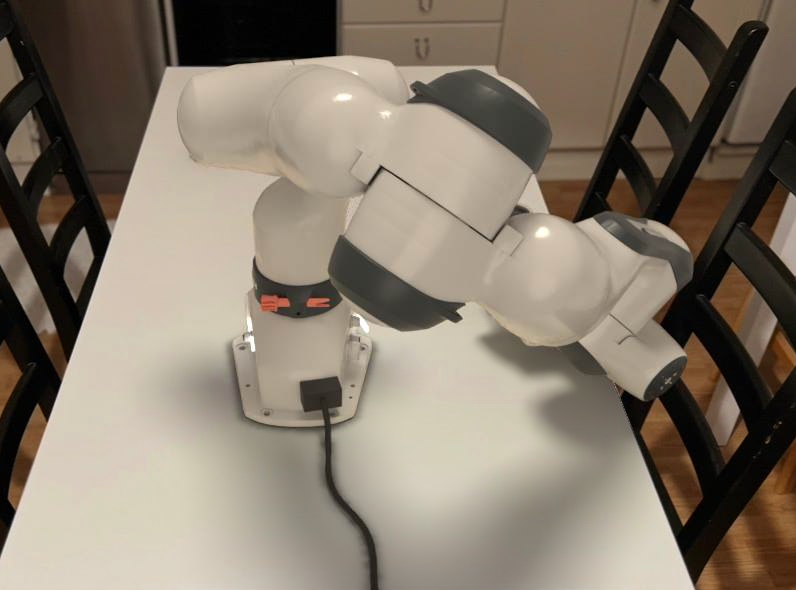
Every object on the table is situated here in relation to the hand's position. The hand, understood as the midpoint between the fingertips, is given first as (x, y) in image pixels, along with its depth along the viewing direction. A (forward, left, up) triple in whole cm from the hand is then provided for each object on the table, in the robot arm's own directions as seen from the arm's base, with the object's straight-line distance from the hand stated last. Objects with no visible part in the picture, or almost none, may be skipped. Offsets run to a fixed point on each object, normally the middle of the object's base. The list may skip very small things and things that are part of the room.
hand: (521, 255), depth 128 cm
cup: (+3, +1, -7) cm, 8 cm away
